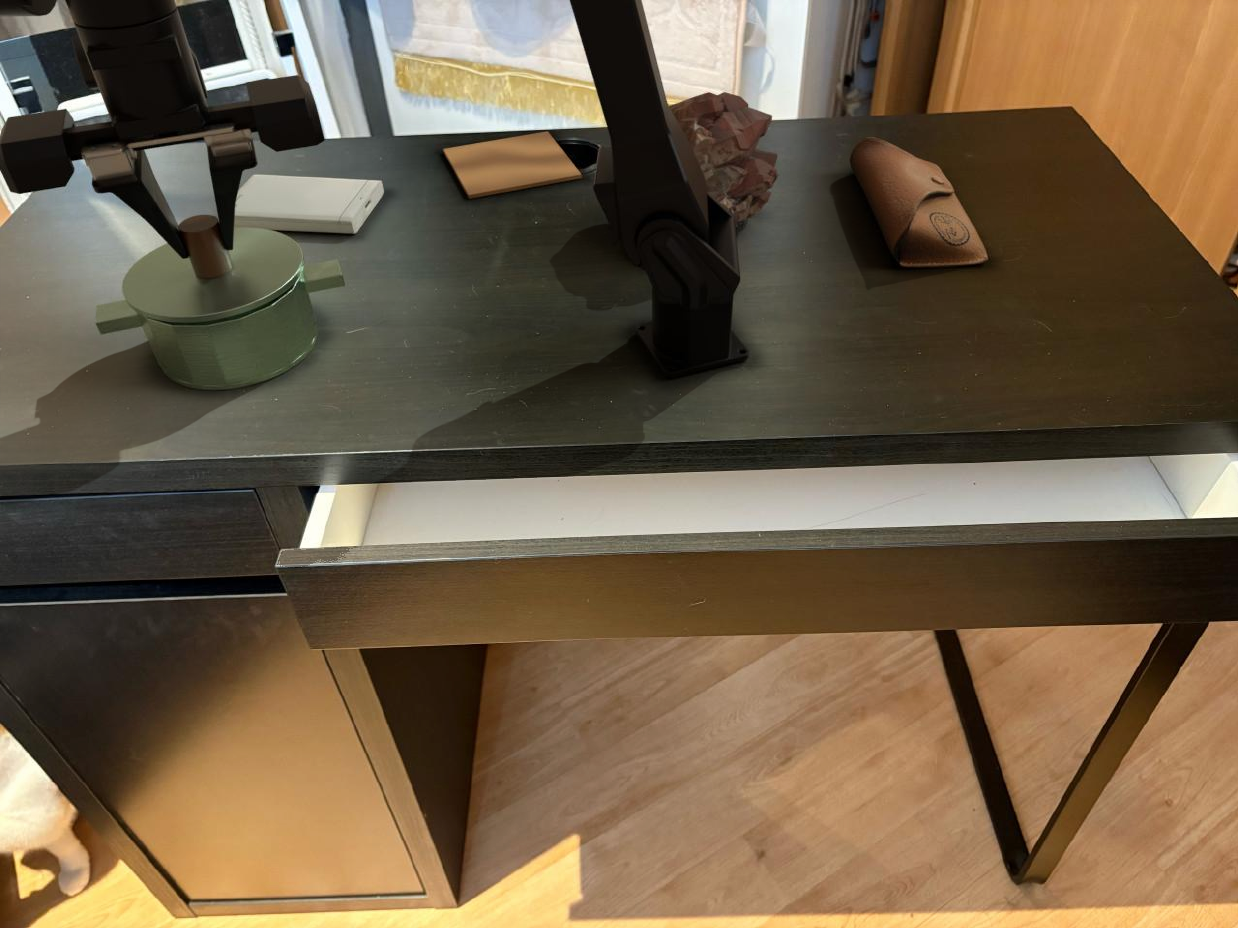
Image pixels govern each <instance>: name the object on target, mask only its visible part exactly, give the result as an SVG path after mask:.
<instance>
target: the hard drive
mask: <svg viewBox="0 0 1238 928" xmlns="http://www.w3.org/2000/svg"><path fill="white" fill-rule="evenodd" d="M384 193H385V189H384V185H383V181H382V180H378V179H377V180H376V179H356V178H355V179H354V178H338V177H337V178H335V177H319V176H318V177H317V176H291V175H274V174H253V175H252V176H251V177H250V178H248V180H246V181H245V182H244V184H243V185H242V186H241V187H239V190H238V194H237V198H236V204H235V221H234V228H238V227H248V228H261V229H267V230H272V231H290V232H310V233H311V232H312V233H331V234H332V233H333V234H334V233H335V234H350V235H351V234H353V235H355V234H357V233H358V231H359V230H360V228H361V227H362V226H363V225H364V223H365V222H366V220H367V219H368V217H369V216H370V214H371V213H372V211H374V209H375V207H376V206H377V204H379V202H380V200H381V199H382V198H383V197H384ZM216 215H217V217H218V214H216ZM217 219H218V218H217ZM218 221H219V219H218Z"/></svg>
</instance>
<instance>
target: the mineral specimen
mask: <svg viewBox="0 0 1238 928" xmlns="http://www.w3.org/2000/svg"><path fill="white" fill-rule="evenodd" d="M669 107H670V109H671V111H672V113H673V115H674V116H675V118H676V120H677V121H678V123H679V125H680V126H681V128H682V130H683V131H684V133H685V135H686V136H687V138H688V140H689V143H690V145H691V147H692V149H693V152H694V154H695V156H696V158H697V161H698V163H699V165H700V167H701V170H702V172H703V174H704V177H705V180H706V183H707V191H708V192H709V193H710V194H711V195H712V196H713V197H714V198H716V199H717V200H718V201H719V202H720V203H721V204H722V205H723V206H724V207H725V208H726V209H727V210H728V211H729V212H730V213H731V214H732V215H733V216H734V218H735V228H737V227H738V225H739V222H742V221H744V220H747V219H751V218H753V217H754V216H756V214H757V213H759V212H760V211H761V210H762V209H763V207H764V206H765V205H766V203H768V202H769V199H770V197H771V195H772V191H768V190H771V189H772V188H773V186H774V183H776V181H777V180H778V178H779V173H778V170H777V169H776V168H775V167H776V164H777V161H778V153H775V152H771V151H766V150H762V149H758V148H757V146H758V144H759V142H760V140H761V138H763V137H764V136H766V134H767V131H768V129H769V127H770V125H771V123H772V121H773V115H771V114H769V113H766V112H764V111H761V110H757V109H755V108H752V107H750V106H749V103H748V102H747V101H746V100H745V99H744V98H743V97H742V96H740V95H737V94H734V93H730V92H727V91H723V92H720V93H719V94H716V93H713V92H710V91H707V92H704V93H701V94H698V95H695V96H693V97H690V98H687V99H685V100H682V101H679V102H676V103H673V104H669Z"/></svg>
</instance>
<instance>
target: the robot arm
mask: <svg viewBox="0 0 1238 928" xmlns="http://www.w3.org/2000/svg"><path fill="white" fill-rule="evenodd" d="M57 1H58V0H0V18H1V17H43V16H47V15H49V14H50V13H52V11H53V10H54V8H55V7H56V5H57ZM64 1H65V4H66V6H67V9H68V11H69V14H70V16H71V17H70V18H71V20H72V22H73V25H74V27H75V29H76V32H77V35H78V36H71V37H70V40H71V43H72V47H73V51H74V55H75V59H76V62H77V67H78V69H79V72H80V76H81V78H82V81H83V84H84V85H85V87H86V88H87V89H88V90H99V92H100V95H101V97H102V101H103V103H104V105H105V108H106V111H107V113H108V116H109V118H110V121H104V122H98V123H97V122H96V123H90V124H84V125H78V126H77V125H76V122H75V119H74V117H73V116H72V114H71V113H70V112H69V110H68V108H62V109H56V110H55V109H54V110H48V111H41V112H34V113H27V114H20V115H14V116H8V117H7V119H6V120H5V122H4V124H3V126H2V128H1V131H0V174H1V175H2V177H3V180H4V181H5V184H6V186H7V188H8V190H9V192H10V193H13V194H17V195H21V194H28V193H35V192H40V191H47V190H53V189H58V188H59V189H60V188H65V187H67V185H68V183H69V182H70V180H71V179H72V177H73V175H74V174H75V169H76V168H75V166H74V164H73V162H76V161H82V160H84V162H85V165H86V167H88V169H89V171H90V174H91V176H92V177H91V186H92V189H93V191H94V192H95V193H97V194H109V193H110V194H113V195H114V196H116V197H117V199H119V200H120V201H121V202H123V203H124V204H125V205H127V207H129V208H130V209H131V210H133V211H134V212H135V213H136V214H137V215H139V216H140V217H141V218H142V219H143V220H144V221H145V222H147V223H148V225H149V226H150V227H152V228H153V230H154V231H155V232H156V233H157V234H158V235H159V236H160V237H161V238H162V239H163V240H164V241H165V242H166V244H167V243H168V244H169V245H170V246H171V247H172V248H173V249H174V250H175V251H176V253H177V254H178V255H179V256H180V257H181V258H182V259H186V258H189V256H188V253H187V250H186V248H185V245H184V242H183V239H182V237H181V234H180V231H179V229H178V226H179V223H178V221H177V219H176V217H175V215H174V213H173V210H172V209H171V207H170V205H169V202H168V201H167V198H166V196H165V195H164V193H163V190H162V189H161V187H160V185H159V183H158V181H157V179H156V175H155V174H154V172H153V169H152V166H151V163H150V161H149V159H148V156H147V153H146V150H151V149H159V148H164V147H170V146H176V145H183V144H184V145H185V144H189V143H195V142H201V141H204V142H205V147H206V150H207V152H206V153H207V161H208V168H209V175H210V179H211V186H212V191H213V196H214V202H215V207H216V215H218V216H217V219H219V225H220V230H221V235H222V238H223V241H224V243H225V246H226V249H227V250H228V251H229V250H233V242H234V221H235V204H236V198H237V194H238V190H239V189H240V185H241V181H242V176H243V173H244V171H246V170H252V169H254V168H256V167H257V166H258V165H259V163H258V157H257V153H256V147H255V144H254V136H253V133H257V134H258V138H259V141H260V143H261V144H263V145H265V146H266V147H268V148H270V149H271V150H273V151H274V152H276V153H279V152H285V151H291V150H296V149H303V148H308V147H316V146H319V145H320V144H322V143H323V142H325V141H326V140H325V135H324V131H323V126H322V123H321V118H320V114H319V110H318V107H317V103H316V100H315V97H314V94H313V92H312V89H311V86H310V82H308V81H306V80H305V79H304V78H302V77H301V76H300V75H298V74H296V75H288V76H281V77H275V78H267V79H260V80H253V81H247V82H245V84H246V89H247V94H248V99H249V100H244V101H243V100H242V101H237V102H230V103H224V104H218V105H211V106H208V105H209V104H208V102H207V99H208V98H209V94H208V90H207V87H206V83H205V80H204V76H203V73H202V71H201V67H200V64H199V61H198V57H197V55H196V54H195V52H194V51H193V49H192V48H191V46H190V45H189V41H188V39H187V35H186V32H185V29H184V25H183V22H182V19H181V16H180V13H179V9H178V6H177V4H176V3H177V2H176V0H64ZM569 3H570V4H569V5H570V7H571V10H572V13H573V17H574V20H575V24H576V26H577V30H578V34H579V37H580V41H581V43H582V47H583V51H584V52H585V53H584V54H585V57H586V61H587V64H588V67H589V71H590V74H591V78H592V79H593V80H592V81H593V85H594V88H595V91H596V94H597V97H598V98H597V99H598V102H599V105H600V108H601V111H602V115H603V118H604V121H605V124H606V128H607V131H608V135H609V138H610V146H602V147H601V146H600V147H599V148H598V150H597V158H596V164H595V171H594V177H593V178H594V179H593V186H592V190H593V192H594V194H595V197H596V200H597V202H598V204H599V206H600V207H601V210H602V212H603V213H604V216H605V218H606V220H607V221H608V228H609V239H608V245H609V246H610V247H615V246H616V245H617V243H619V245H620V248H621V251H622V253H623V255H624V257H625V258H626V260H627V262H628V263H630V264H631V266H633V267H635V268H639V269H641V270H643V271H645V273H646V275H647V278H648V280H649V282H650V285H651V321H650V322H646V323H642V324H641V323H640V324H638V325H636V326H635V330H634V331H635V335H636V336H637V338H638V340H639V341H640V342H641V344H642V345H643V347H644V348H645V350H646V351H647V353H648V354H649V355H650V357H651V359H652V360H653V361H654V363H655V364H656V366H657V368H658V369H659V370H660V372H661V373H662V374H663V376H664V377H666V378H669V379H673V378H676V377H681V376H686V375H689V374H693V373H698V372H702V371H706V370H710V369H714V368H718V367H723V366H726V365H730V364H735V363H739V362H742V361H746V360H748V359H749V357H750V350H749V348H748V347H746V346H745V345H746V344H744V343H743V341H741V339H740V338H739V337H738V336H737V334H736V333H735V332H734V331H733V329H732V327H733V326H732V325H733V311H734V295H735V293H736V291H737V289H738V287H739V285H740V283H741V269H740V259H739V250H738V239H737V230H736V228H737V227H736V228H735V218H734V216H733V215H732V214H731V213H730V212H729V211H728V210H727V209H726V208H725V207H724V206H723V205H722V204H721V203H720V202H719V201H718V200H717V199H716V198H714V197H713V196H712V195H711V194H710V193H709V192H708V191H707V183H706V180H705V177H704V174H703V172H702V170H701V167H700V165H699V163H698V161H697V158H696V156H695V154H694V152H693V149H692V147H691V145H690V143H689V140H688V138H687V136H686V135H685V133H684V131H683V130H682V128H681V126H680V125H679V123H678V121H677V120H676V118H675V116H674V115H673V113H672V111H671V109H670V107H669V106H670V104H669V102H668V100H667V96H666V91H665V87H664V84H663V79H662V76H661V71H660V68H659V64H658V60H657V56H656V52H655V48H654V44H653V40H652V37H651V32H650V28H649V24H648V20H647V16H646V12H645V8H644V4H643V1H642V0H569Z"/></svg>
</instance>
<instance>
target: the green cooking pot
mask: <svg viewBox="0 0 1238 928" xmlns="http://www.w3.org/2000/svg"><path fill="white" fill-rule="evenodd" d="M344 286H346V283H345V279H344V274H343V273H342V268H341V265H340V262H339V259H337V258H336V259H331V260H327V261H321V262H317V263H311V264H310V263H309V264H306V265H305V264H304V267H303V270H302V273H301V275H300V276H299V278H298V279H297V281H296V282H295V283H294V284H293V285H292V286H291V287H290V288H289V289H288V290H286V291H285V292H284V293H282V294H281V295H280V296H278V297H277V298H275V299H273V300H271V301H270V302H268V303H266V304H264V305H261V306H259V307H257V308H255V309H252V310H249V311H247V312H244V313H241V314H237V315H234V316H230V317H226V318H222V319H216V320H210V321H202V322H186V323H181V322H167V321H160V320H156V319H151V318H148V317H146V316H143V315H141V314H139V313H137V312H136V311H135V310H133V309H132V308H131V307H130V306H129V305H128V304H127V302H126V300H125V299H123V300H119V301H112V302H108V303H102V304H98V305H96V308H95V309H96V311H95V321H94V322H95V323H94V324H95V325H96V328H97V330H98V332H99V334H100V335H102V336H103V335H107V334H112V333H116V332H121V331H127V330H131V329H136V328H142V329H143V332H144V334H145V337H146V339H147V341H148V344H149V346H150V348H151V351H152V352H153V355H154V358H155V360H156V362H157V364H158V366H159V367H160V368H161V370H162V371H163V373H164V374H165V376H166V377H168V379H170V380H171V381H173V382H175V383H176V384H179V385H181V386H183V387H186V388H191V389H196V390H206V391H225V390H233V389H240V388H245V387H249V386H254V385H256V384H257V385H258V384H259V383H263V382H266V381H269V380H271V379H273V378H276V377H278V376H280V375H282V374H284V373H286V372H288V371H289V370H291V369H293V368H294V367H295V366H297V365H298V364H299V363H301V362H302V361H303V360H304V359H305V358H306V357H307V356H308V355H309V354H310V353H311V351H312V350H313V348H314V347H315V345H316V342H317V340H318V335H319V329H318V324H317V323H318V322H317V319H316V316H315V312H314V309H313V308H314V307H313V306H312V301H311V296H310V294H311V293H315V292H320V291H325V290H330V289H336V288H340V287H344Z"/></svg>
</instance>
